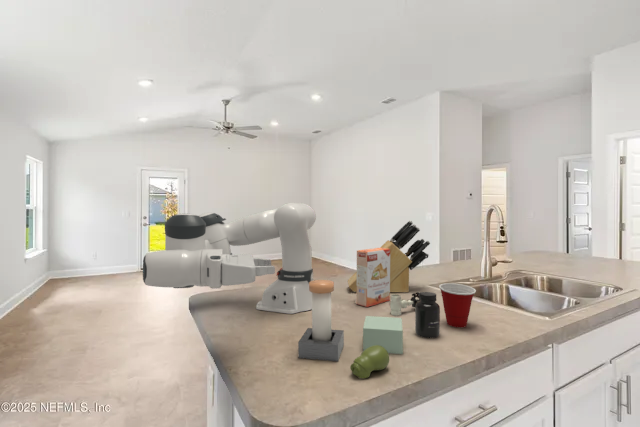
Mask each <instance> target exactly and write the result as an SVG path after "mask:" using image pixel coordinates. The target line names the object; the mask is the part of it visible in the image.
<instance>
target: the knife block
mask: <svg viewBox="0 0 640 427" xmlns="http://www.w3.org/2000/svg"><path fill="white" fill-rule="evenodd" d="M420 231H421V229H420V228H419V226H418V227H417V225H416V224H414V223H413V221H412V220H409V221H407V222H406V223H405V224H404V225H403V226H402V227H401V228H400V229H399V230H398V231H397V232H395V234H394V235H393V236H392V237H391V239H390V240H386V241H385V243H383V244H382V245H381V246H380V247H379V248H388V249H390V293H403V294H406V293H409V291H410V290H409V288H410V286H409V285H410V271H412V270H413V269H416V267H418V266H419V265H420V264H421V263H422V262H424V260H425V259H428V258H429V253H427V252H425V251H424V250H425V249H427V247H428V246H429V245H430V244H431V242H430V241H429V240H426V241H425V239H424V238H421V239H417V240H415V242H414V243H412V244H411V245H410V246H409V247H408V249H407V251H406V252H405V253H404V252H403V251H402V250H401V249H403V248H404V247H405V246H406V245H407V244H408V243H409V242H410V241H411V240H412V239H414V237H415V236H416V235H417V234H418V233H419V232H420ZM347 283H348V288H349V289H350V290H351V291H352V292H354V293H357V270H356V271H355V272H354V273H353V274H352V276H350V277H349V279H347Z"/></svg>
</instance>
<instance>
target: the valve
mask: <svg viewBox="0 0 640 427" xmlns="http://www.w3.org/2000/svg"><path fill="white" fill-rule="evenodd" d="M419 293H420V292H418V291H417V292H413V293H411V298H410V299H409V300H406V299H402V296H401V295H400V294H396V293H395V294H394V293H393V294H391V295H390V302H389V308H390V315H391V316H395V317H398V316H399V317H400V316H402V309H406V308H407V307H409V306H411V307H412V308H415V306H416V303H417V302H419V301H420V300H419Z"/></svg>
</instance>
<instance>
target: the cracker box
mask: <svg viewBox="0 0 640 427" xmlns="http://www.w3.org/2000/svg"><path fill="white" fill-rule="evenodd" d="M356 271H357V292H356V305H359V306H361V307H366V308H369V307H372V306H375V305H380V304H382V303H386V302H389V301H391V295H390V294H391V292H390V249H388V248H380V247H375V248H367V249H360V250H359V249H358V250H356Z"/></svg>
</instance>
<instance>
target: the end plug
mask: <svg viewBox="0 0 640 427" xmlns="http://www.w3.org/2000/svg"><path fill="white" fill-rule="evenodd" d="M309 291H310V292H312V309H311V321H312V322H311V323H312V324H311V326H312V327H311V328H312V340H318V341H332V330H333V328H332V292H334V291H335V282H334V281H332V280H330V279H315V280H314V279H313V281H310V282H309Z"/></svg>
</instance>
